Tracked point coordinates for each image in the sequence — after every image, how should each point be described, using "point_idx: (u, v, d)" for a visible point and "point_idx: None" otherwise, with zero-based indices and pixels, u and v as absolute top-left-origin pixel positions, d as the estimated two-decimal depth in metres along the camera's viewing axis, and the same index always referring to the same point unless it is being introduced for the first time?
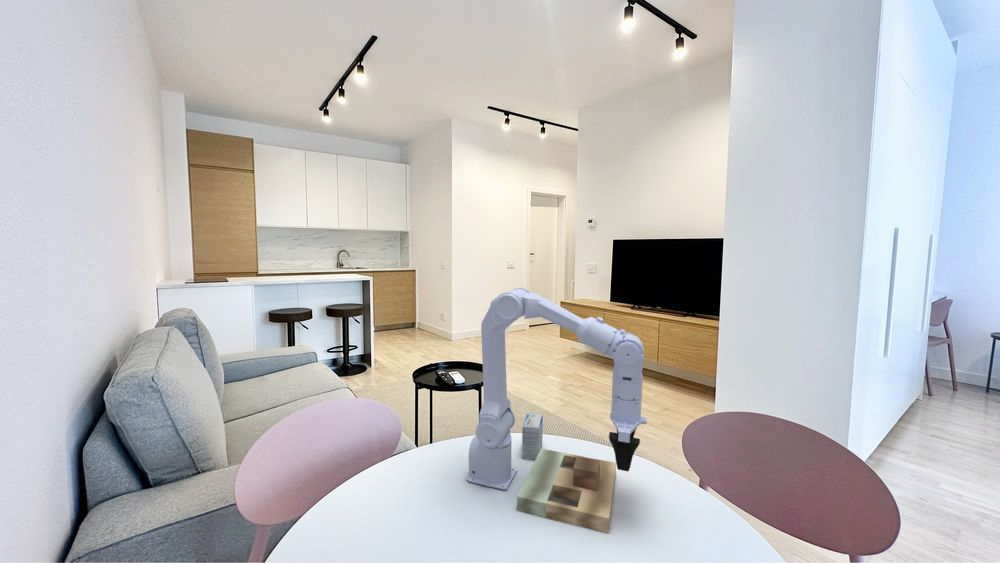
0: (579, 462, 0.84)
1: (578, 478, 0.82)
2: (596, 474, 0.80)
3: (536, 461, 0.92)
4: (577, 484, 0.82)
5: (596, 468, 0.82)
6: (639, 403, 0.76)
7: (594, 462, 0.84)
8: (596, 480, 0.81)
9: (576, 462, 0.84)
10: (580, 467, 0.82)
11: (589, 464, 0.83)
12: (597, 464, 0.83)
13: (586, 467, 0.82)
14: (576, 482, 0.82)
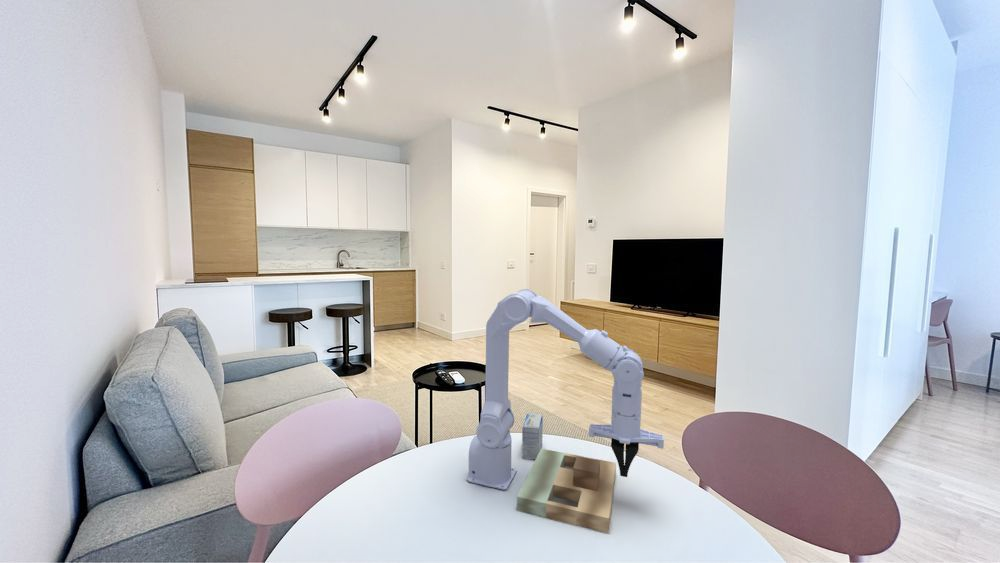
0: (579, 462, 0.84)
1: (578, 478, 0.82)
2: (596, 474, 0.80)
3: (536, 461, 0.92)
4: (577, 484, 0.82)
5: (596, 468, 0.82)
6: (618, 418, 0.78)
7: (594, 462, 0.84)
8: (596, 480, 0.81)
9: (576, 462, 0.84)
10: (580, 467, 0.82)
11: (589, 464, 0.83)
12: (597, 464, 0.83)
13: (586, 467, 0.82)
14: (576, 482, 0.82)
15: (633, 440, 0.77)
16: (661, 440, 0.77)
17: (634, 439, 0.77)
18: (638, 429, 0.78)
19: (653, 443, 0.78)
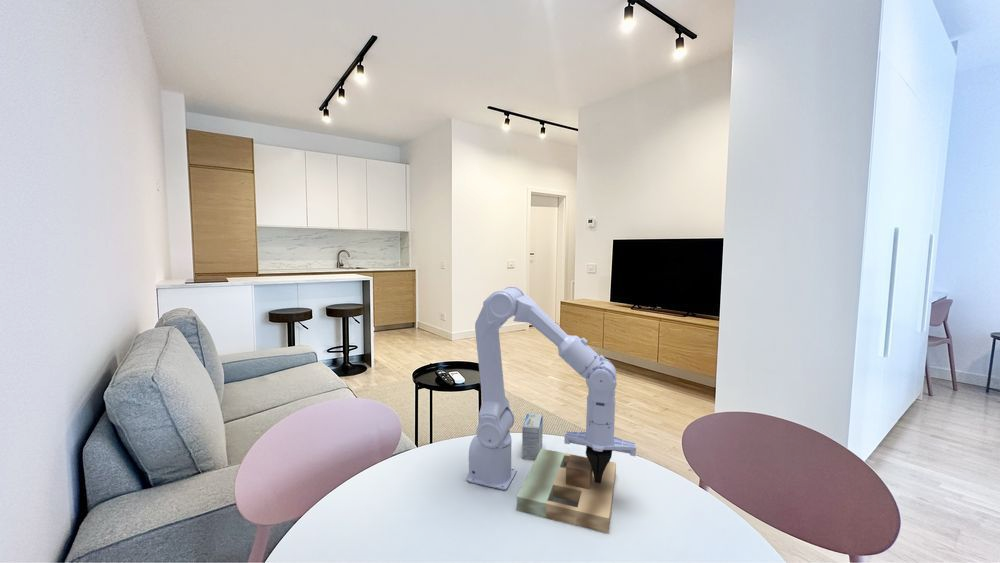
0: (571, 461, 0.85)
1: (571, 477, 0.82)
2: (588, 472, 0.81)
3: (536, 461, 0.92)
4: (570, 482, 0.83)
5: (589, 466, 0.83)
6: (592, 426, 0.80)
7: (587, 461, 0.85)
8: (589, 478, 0.81)
9: (569, 461, 0.85)
10: (573, 466, 0.83)
11: (582, 462, 0.84)
12: None
13: (578, 466, 0.83)
14: (569, 480, 0.83)
15: (606, 448, 0.79)
16: (633, 448, 0.79)
17: (607, 447, 0.79)
18: (612, 437, 0.80)
19: (626, 450, 0.80)
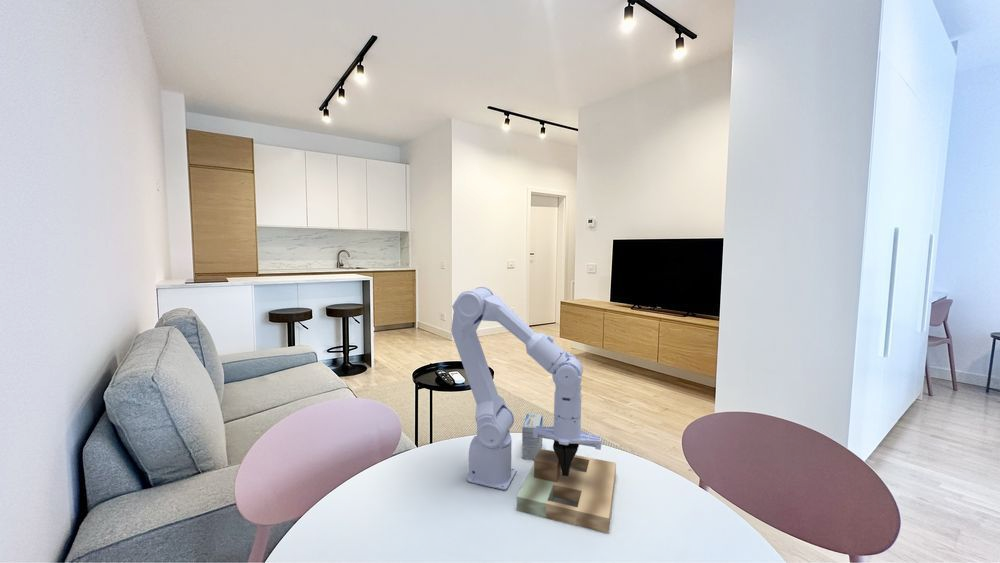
0: (540, 455, 0.87)
1: (539, 470, 0.85)
2: (555, 466, 0.83)
3: None
4: (538, 476, 0.85)
5: (556, 460, 0.85)
6: (558, 421, 0.82)
7: (555, 455, 0.87)
8: (555, 472, 0.83)
9: (538, 455, 0.87)
10: (541, 459, 0.85)
11: (550, 456, 0.86)
12: None
13: (546, 459, 0.85)
14: (537, 474, 0.85)
15: (572, 441, 0.82)
16: (598, 441, 0.81)
17: (573, 440, 0.82)
18: (578, 431, 0.82)
19: (592, 444, 0.83)
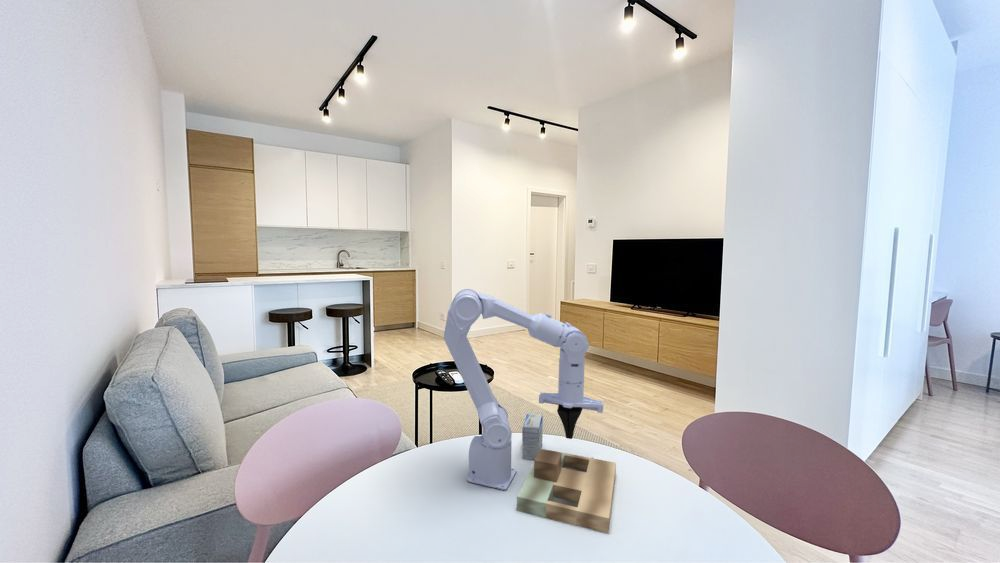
0: (540, 455, 0.87)
1: (539, 470, 0.85)
2: (555, 466, 0.83)
3: None
4: (538, 476, 0.85)
5: (556, 460, 0.85)
6: (562, 386, 0.88)
7: (555, 455, 0.87)
8: (555, 472, 0.83)
9: (538, 455, 0.87)
10: (541, 459, 0.85)
11: (550, 456, 0.86)
12: (558, 456, 0.86)
13: (546, 459, 0.85)
14: (537, 474, 0.85)
15: (575, 405, 0.87)
16: (600, 405, 0.86)
17: (576, 404, 0.87)
18: (581, 396, 0.88)
19: (594, 408, 0.88)
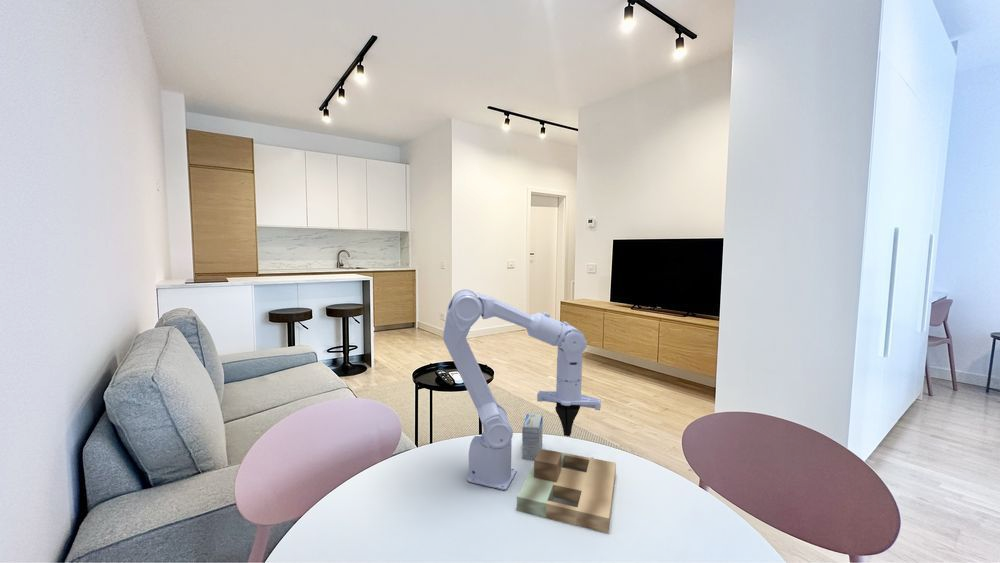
0: (540, 455, 0.87)
1: (539, 470, 0.85)
2: (555, 466, 0.83)
3: None
4: (538, 476, 0.85)
5: (556, 460, 0.85)
6: (560, 384, 0.89)
7: (555, 455, 0.87)
8: (555, 472, 0.83)
9: (538, 455, 0.87)
10: (541, 459, 0.85)
11: (550, 456, 0.86)
12: (558, 456, 0.86)
13: (546, 459, 0.85)
14: (537, 474, 0.85)
15: (573, 403, 0.88)
16: (598, 403, 0.88)
17: (574, 402, 0.88)
18: (578, 394, 0.89)
19: (591, 406, 0.89)
